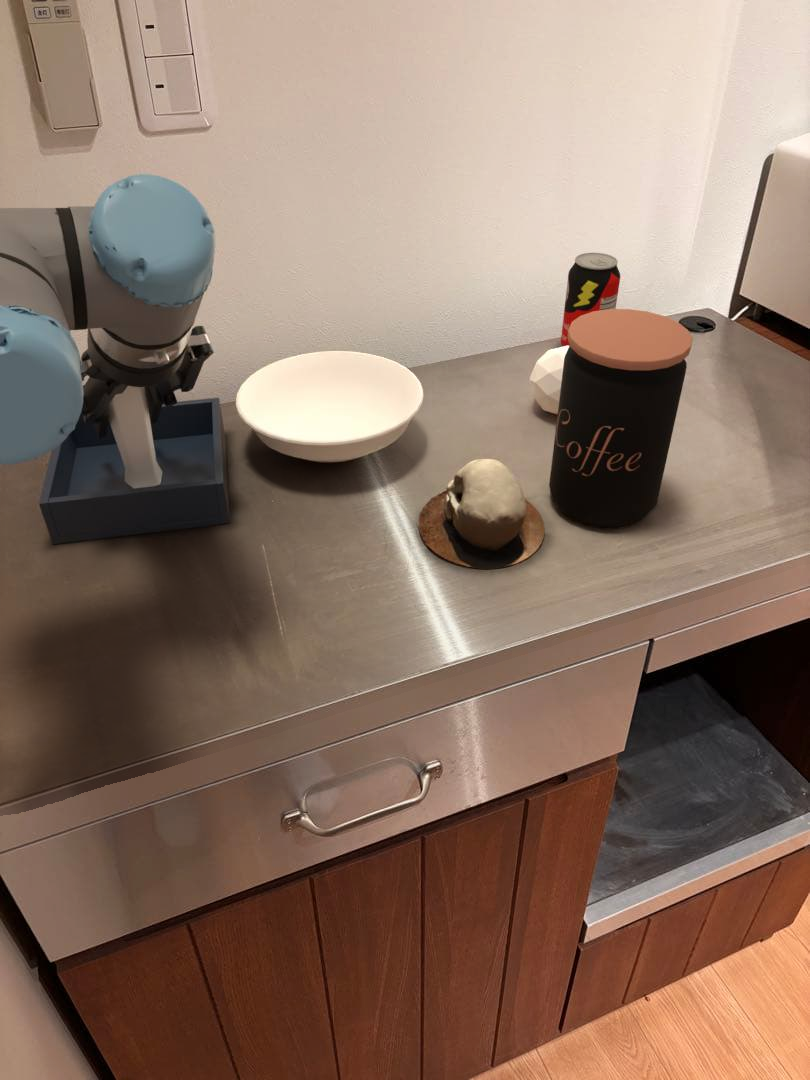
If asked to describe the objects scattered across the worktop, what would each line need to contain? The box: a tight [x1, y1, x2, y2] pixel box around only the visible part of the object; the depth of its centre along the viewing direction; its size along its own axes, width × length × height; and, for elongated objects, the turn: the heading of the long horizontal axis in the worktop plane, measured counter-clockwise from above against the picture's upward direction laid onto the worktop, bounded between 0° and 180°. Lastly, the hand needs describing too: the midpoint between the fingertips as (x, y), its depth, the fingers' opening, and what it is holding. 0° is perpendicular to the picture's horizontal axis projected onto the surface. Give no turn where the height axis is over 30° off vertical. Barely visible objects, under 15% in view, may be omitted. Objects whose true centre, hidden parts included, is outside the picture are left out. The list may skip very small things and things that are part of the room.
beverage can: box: [560, 252, 621, 347], centre depth 108 cm, size 6×6×12 cm
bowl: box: [235, 350, 425, 463], centre depth 92 cm, size 20×20×6 cm
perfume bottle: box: [106, 386, 162, 488], centre depth 83 cm, size 5×4×15 cm
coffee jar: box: [548, 308, 693, 530], centre depth 80 cm, size 11×11×18 cm
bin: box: [38, 397, 231, 545], centre depth 87 cm, size 17×17×5 cm
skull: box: [417, 458, 546, 570], centre depth 81 cm, size 12×10×10 cm
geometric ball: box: [528, 346, 569, 415], centre depth 97 cm, size 8×8×8 cm
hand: (123, 417), depth 87 cm, fingers closed on perfume bottle, 4 cm apart
